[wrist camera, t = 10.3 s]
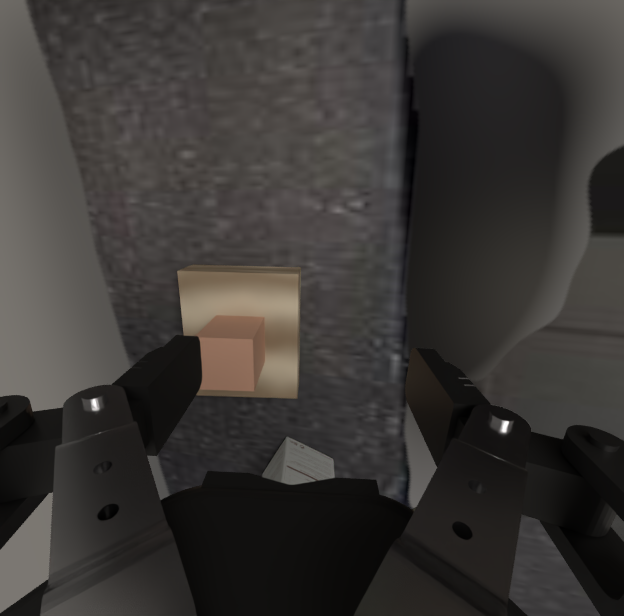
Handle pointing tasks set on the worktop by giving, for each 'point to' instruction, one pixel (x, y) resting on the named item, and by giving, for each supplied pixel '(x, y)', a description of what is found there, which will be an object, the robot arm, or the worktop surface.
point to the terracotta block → (232, 352)
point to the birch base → (249, 302)
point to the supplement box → (298, 464)
